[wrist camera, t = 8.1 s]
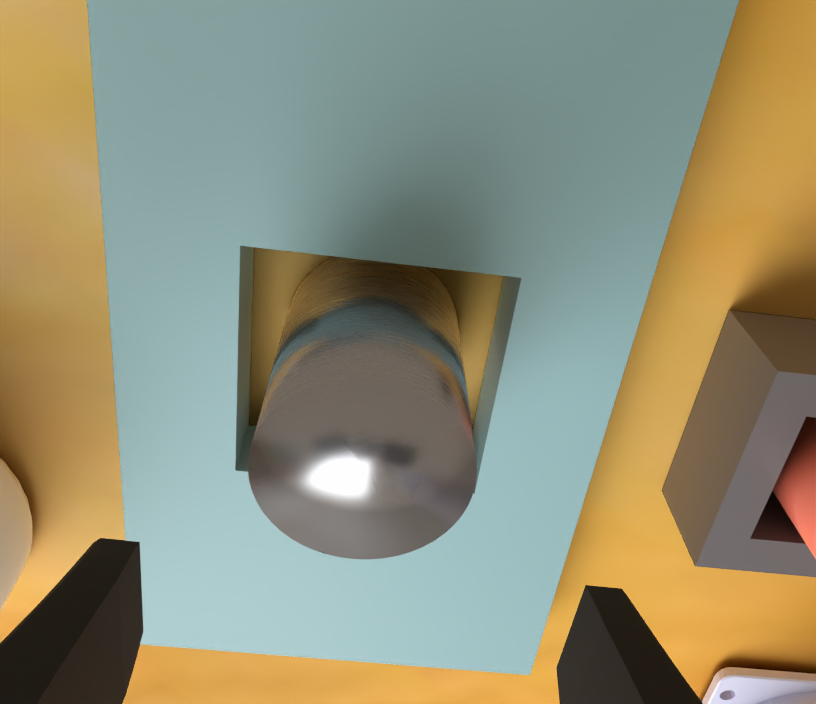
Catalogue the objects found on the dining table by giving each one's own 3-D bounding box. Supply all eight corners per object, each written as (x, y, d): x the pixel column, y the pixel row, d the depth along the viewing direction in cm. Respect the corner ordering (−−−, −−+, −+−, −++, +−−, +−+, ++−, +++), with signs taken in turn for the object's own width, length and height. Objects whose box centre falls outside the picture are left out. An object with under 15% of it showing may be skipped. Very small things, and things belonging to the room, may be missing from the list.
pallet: (521, 623, 26) (529, 674, 24) (151, 592, 25) (132, 643, 23) (716, -56, 16) (755, -51, 14) (114, -145, 15) (76, -151, 13)
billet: (434, 412, 22) (445, 574, 16) (276, 383, 21) (234, 540, 16) (477, 270, 19) (504, 403, 14) (302, 232, 19) (263, 357, 14)
